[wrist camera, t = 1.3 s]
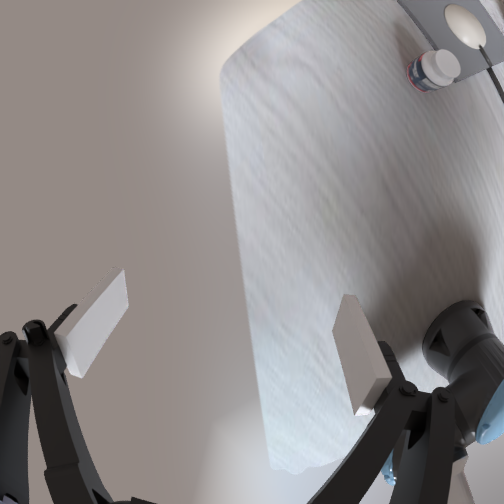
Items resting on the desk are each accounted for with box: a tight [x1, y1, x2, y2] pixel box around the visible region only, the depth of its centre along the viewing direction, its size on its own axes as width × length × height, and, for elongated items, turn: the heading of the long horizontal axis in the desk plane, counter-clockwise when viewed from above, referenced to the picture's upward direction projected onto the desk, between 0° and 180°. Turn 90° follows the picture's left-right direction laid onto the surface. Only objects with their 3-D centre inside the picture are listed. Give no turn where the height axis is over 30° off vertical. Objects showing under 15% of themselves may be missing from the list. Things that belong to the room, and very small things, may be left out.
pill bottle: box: [407, 49, 461, 93], centre depth 26 cm, size 5×5×9 cm
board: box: [397, 0, 504, 102], centre depth 25 cm, size 30×20×2 cm, turn 33°
